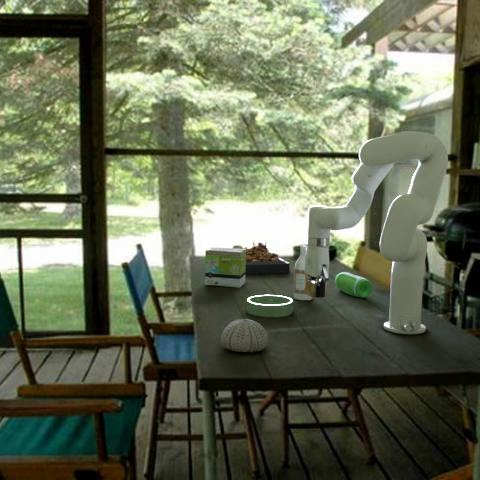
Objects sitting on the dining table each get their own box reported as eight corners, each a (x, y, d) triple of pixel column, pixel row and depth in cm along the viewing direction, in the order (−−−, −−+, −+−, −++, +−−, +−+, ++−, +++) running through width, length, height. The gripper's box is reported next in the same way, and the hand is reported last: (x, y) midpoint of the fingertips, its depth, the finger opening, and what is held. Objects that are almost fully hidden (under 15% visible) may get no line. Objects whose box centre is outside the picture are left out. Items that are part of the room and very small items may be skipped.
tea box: (204, 285, 254) (204, 250, 252) (211, 281, 264) (211, 246, 262) (240, 288, 250) (240, 251, 248) (245, 283, 260) (246, 248, 258)
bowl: (293, 319, 202) (294, 305, 202) (247, 318, 203) (247, 304, 202) (290, 308, 218) (291, 295, 217) (247, 307, 218) (247, 294, 217)
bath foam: (290, 299, 230) (291, 246, 228) (298, 296, 236) (299, 244, 234) (307, 301, 227) (309, 247, 224) (315, 298, 233) (316, 245, 230)
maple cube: (326, 296, 210) (326, 282, 209) (312, 297, 208) (313, 283, 207) (319, 293, 214) (320, 279, 214) (306, 294, 213) (307, 280, 212)
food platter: (218, 258, 323) (219, 239, 321) (264, 257, 328) (265, 238, 327) (236, 274, 279) (237, 251, 278) (289, 273, 284) (289, 250, 283)
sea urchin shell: (219, 341, 177) (219, 314, 176) (266, 341, 178) (267, 313, 177) (221, 356, 164) (221, 326, 163) (272, 355, 165) (272, 326, 163)
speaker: (333, 290, 248) (333, 271, 247) (348, 289, 251) (349, 270, 250) (356, 299, 232) (356, 279, 231) (372, 298, 234) (373, 278, 233)
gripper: (297, 239, 216) (296, 290, 218) (319, 246, 200) (317, 301, 202) (317, 238, 218) (315, 289, 220) (340, 245, 202) (338, 300, 204)
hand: (316, 294), depth 211 cm, fingers closed on maple cube, 5 cm apart
